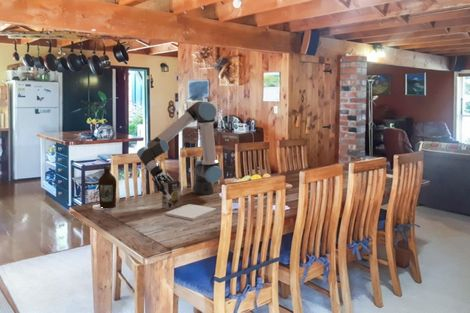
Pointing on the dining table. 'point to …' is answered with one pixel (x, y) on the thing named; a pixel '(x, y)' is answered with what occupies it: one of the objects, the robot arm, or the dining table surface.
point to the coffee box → (171, 194)
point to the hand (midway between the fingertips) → (175, 197)
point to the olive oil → (107, 189)
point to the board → (190, 211)
